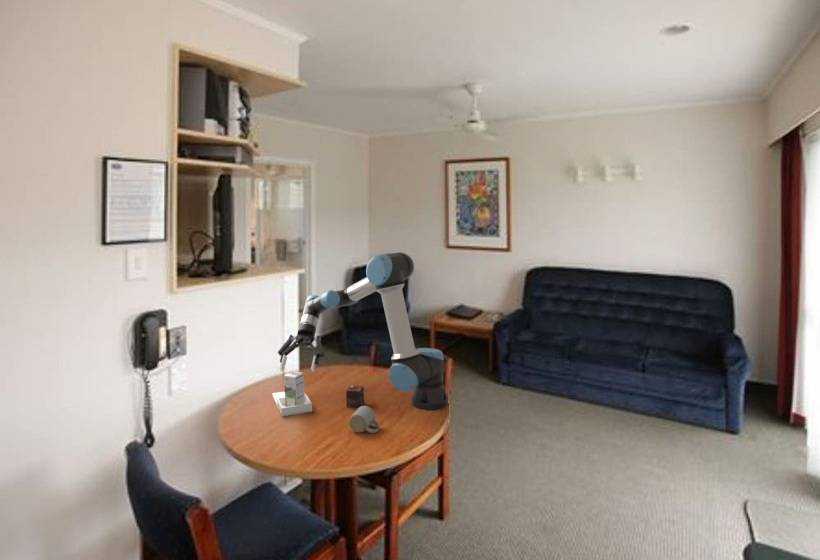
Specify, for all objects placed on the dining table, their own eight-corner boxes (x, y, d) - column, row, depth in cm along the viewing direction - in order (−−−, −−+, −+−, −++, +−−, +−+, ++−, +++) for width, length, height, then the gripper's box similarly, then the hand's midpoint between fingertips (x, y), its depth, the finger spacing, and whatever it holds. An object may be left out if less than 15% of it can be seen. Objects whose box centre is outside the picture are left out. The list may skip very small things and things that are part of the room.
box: (360, 408, 198) (359, 391, 197) (346, 407, 199) (345, 390, 198) (364, 402, 204) (364, 386, 203) (350, 401, 205) (350, 385, 204)
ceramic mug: (347, 432, 176) (347, 412, 175) (357, 423, 184) (357, 404, 183) (374, 437, 173) (374, 416, 172) (383, 427, 181) (383, 407, 179)
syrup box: (305, 406, 200) (303, 372, 198) (296, 411, 194) (294, 376, 192) (293, 404, 202) (292, 370, 200) (284, 409, 197) (283, 375, 195)
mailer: (312, 411, 195) (311, 403, 195) (281, 416, 190) (281, 408, 190) (299, 389, 220) (298, 382, 219) (272, 394, 215) (271, 386, 214)
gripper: (337, 331, 215) (327, 375, 203) (284, 330, 219) (271, 373, 207) (332, 323, 210) (323, 367, 197) (278, 322, 213) (265, 365, 201)
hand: (296, 370), depth 202 cm, fingers open, 13 cm apart
